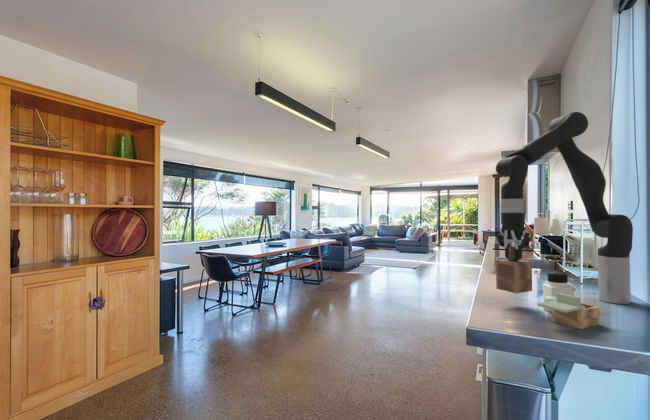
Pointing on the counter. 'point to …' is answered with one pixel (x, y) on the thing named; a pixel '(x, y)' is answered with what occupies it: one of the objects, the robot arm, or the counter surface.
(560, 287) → the medicine bottle
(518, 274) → the cover
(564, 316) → the oak box
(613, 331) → the counter surface
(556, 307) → the lid
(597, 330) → the counter surface
